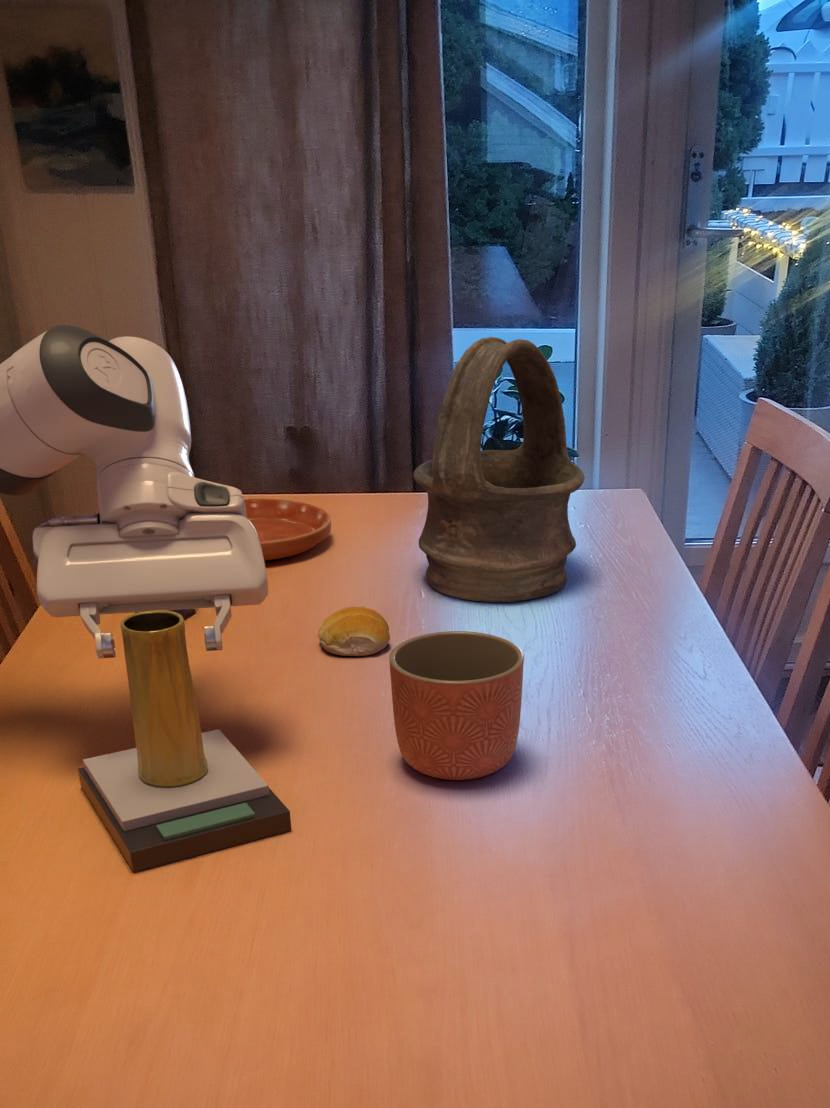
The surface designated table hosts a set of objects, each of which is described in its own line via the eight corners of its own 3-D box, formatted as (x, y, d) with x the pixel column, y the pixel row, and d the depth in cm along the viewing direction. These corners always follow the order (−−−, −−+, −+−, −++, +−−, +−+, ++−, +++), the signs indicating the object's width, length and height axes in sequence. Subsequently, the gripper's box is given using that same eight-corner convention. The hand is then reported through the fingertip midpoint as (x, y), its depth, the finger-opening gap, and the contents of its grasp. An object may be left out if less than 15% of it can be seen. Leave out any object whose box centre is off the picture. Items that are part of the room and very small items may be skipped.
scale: (133, 872, 101) (128, 841, 100) (81, 787, 114) (75, 758, 112) (291, 830, 107) (289, 800, 105) (225, 753, 120) (222, 725, 118)
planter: (420, 802, 111) (418, 691, 106) (375, 746, 121) (370, 641, 115) (543, 776, 116) (546, 669, 110) (490, 724, 125) (490, 623, 120)
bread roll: (387, 628, 148) (386, 596, 146) (391, 656, 141) (390, 623, 138) (318, 630, 147) (316, 598, 145) (319, 659, 140) (316, 626, 138)
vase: (159, 795, 106) (136, 639, 99) (126, 770, 110) (101, 619, 103) (221, 773, 110) (202, 622, 102) (186, 750, 114) (166, 602, 106)
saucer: (201, 517, 187) (199, 493, 185) (348, 524, 184) (347, 499, 182) (146, 565, 168) (143, 539, 166) (309, 573, 165) (307, 546, 163)
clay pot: (615, 585, 161) (631, 341, 146) (469, 621, 150) (469, 361, 135) (518, 542, 177) (522, 318, 161) (378, 571, 166) (368, 333, 150)
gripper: (23, 500, 108) (31, 645, 105) (258, 488, 111) (273, 629, 108) (38, 535, 114) (46, 673, 111) (260, 523, 117) (274, 657, 114)
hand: (160, 652), depth 110 cm, fingers open, 8 cm apart
